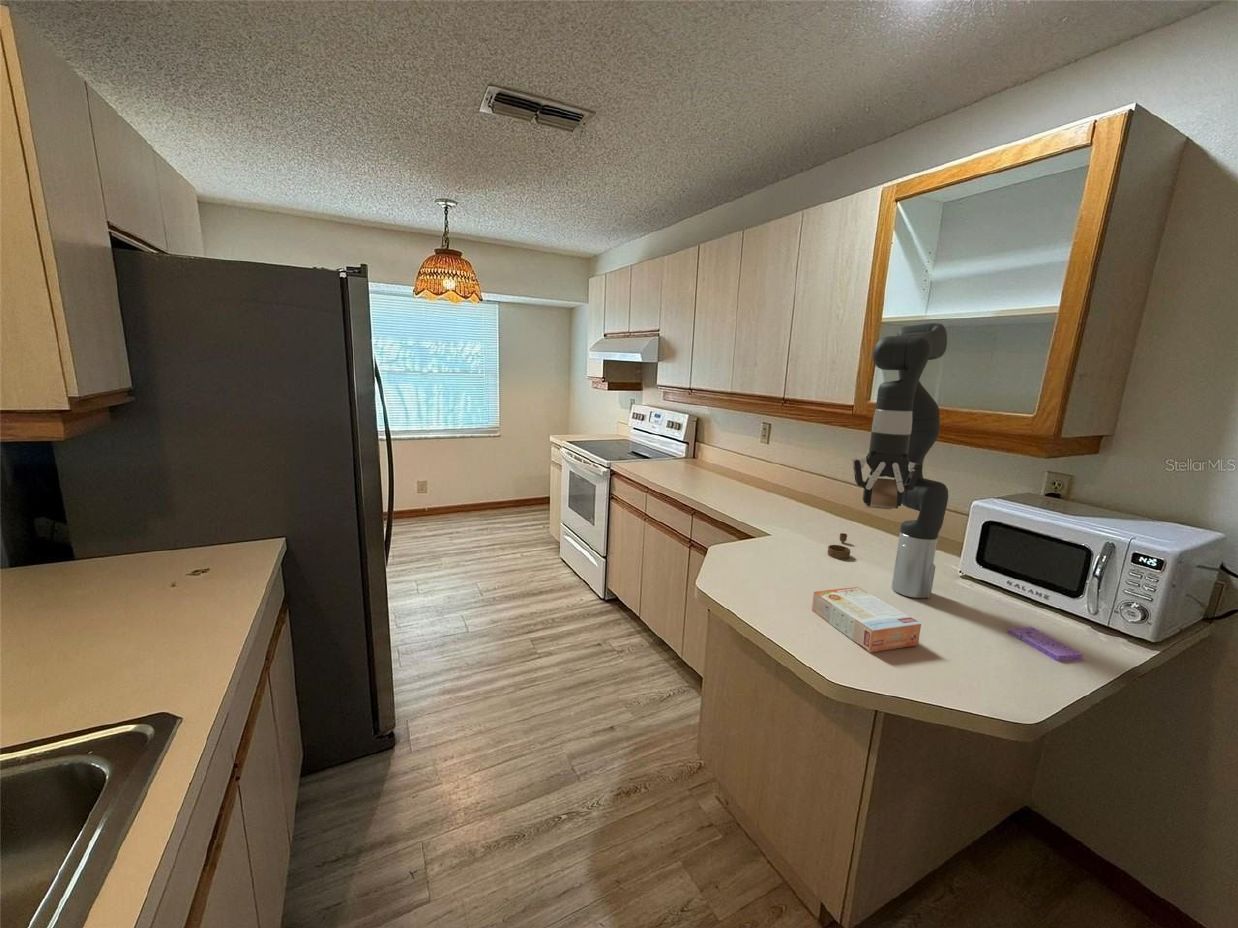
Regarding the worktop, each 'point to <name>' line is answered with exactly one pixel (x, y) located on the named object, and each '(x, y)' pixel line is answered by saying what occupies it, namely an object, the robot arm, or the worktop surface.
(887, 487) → the walnut block
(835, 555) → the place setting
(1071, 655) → the sponges
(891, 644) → the cracker box
